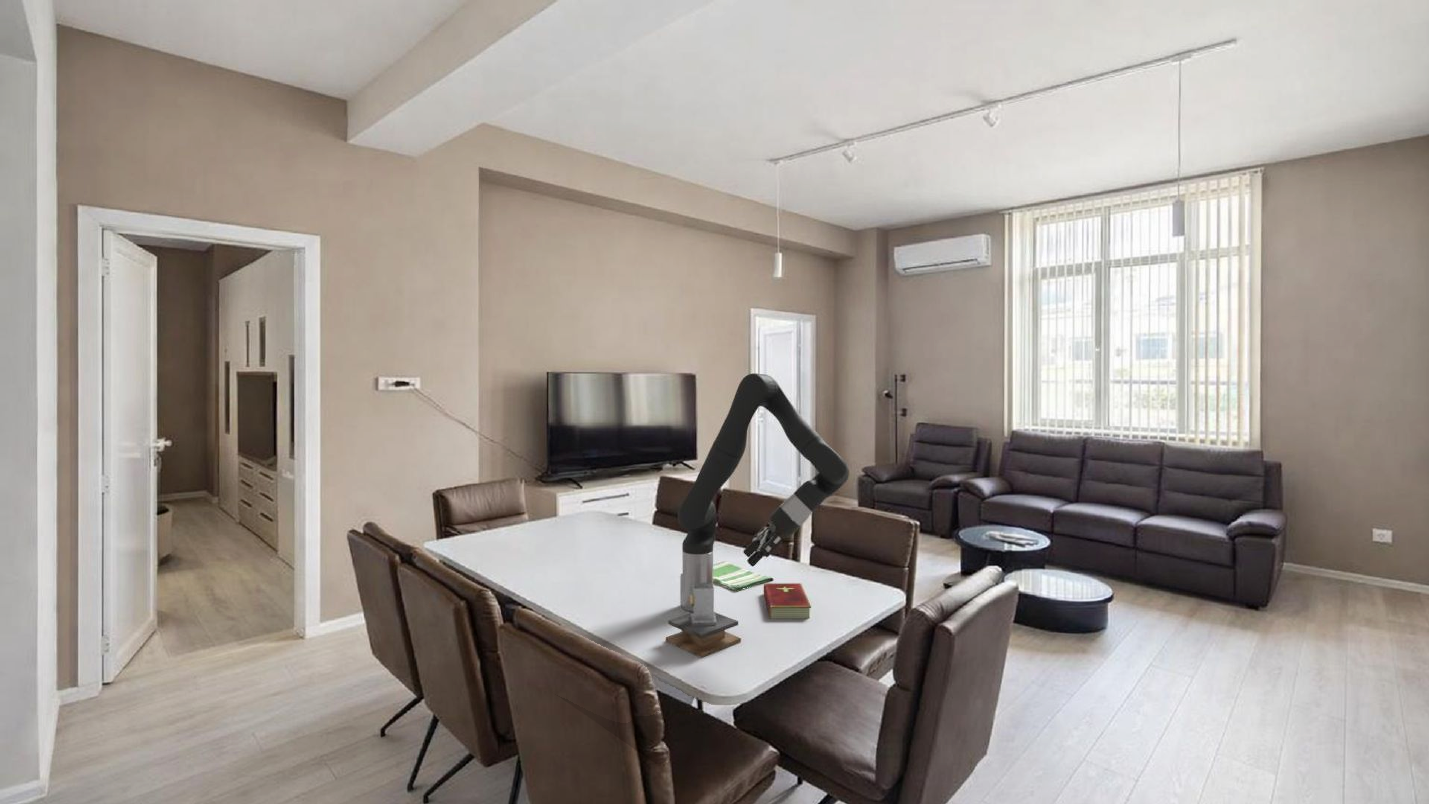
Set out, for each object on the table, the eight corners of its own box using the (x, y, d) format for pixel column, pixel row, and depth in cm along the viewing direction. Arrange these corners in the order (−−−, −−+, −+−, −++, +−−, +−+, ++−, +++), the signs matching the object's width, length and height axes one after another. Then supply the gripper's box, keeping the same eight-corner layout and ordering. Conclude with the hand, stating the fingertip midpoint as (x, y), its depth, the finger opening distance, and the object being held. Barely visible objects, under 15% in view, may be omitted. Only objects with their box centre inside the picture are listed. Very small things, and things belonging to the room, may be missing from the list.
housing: (689, 616, 176) (689, 582, 176) (714, 616, 177) (714, 581, 176) (690, 625, 170) (690, 589, 169) (716, 625, 170) (716, 589, 170)
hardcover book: (769, 620, 190) (769, 605, 190) (763, 595, 211) (763, 582, 211) (811, 620, 190) (811, 605, 190) (800, 595, 211) (801, 582, 211)
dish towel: (736, 593, 213) (736, 585, 213) (689, 577, 230) (689, 569, 230) (773, 582, 225) (773, 574, 225) (726, 567, 242) (726, 559, 242)
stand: (665, 640, 174) (665, 620, 174) (704, 626, 184) (704, 607, 183) (701, 657, 164) (701, 635, 164) (740, 641, 173) (740, 621, 173)
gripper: (776, 500, 181) (734, 542, 180) (785, 511, 166) (740, 557, 166) (795, 519, 181) (753, 561, 181) (806, 531, 167) (761, 577, 167)
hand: (747, 559), depth 174 cm, fingers open, 8 cm apart
